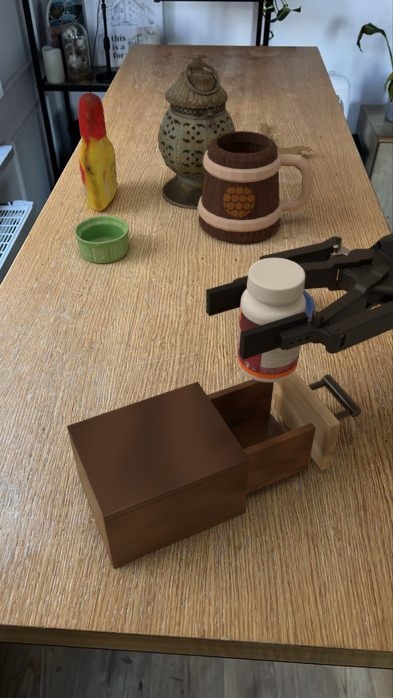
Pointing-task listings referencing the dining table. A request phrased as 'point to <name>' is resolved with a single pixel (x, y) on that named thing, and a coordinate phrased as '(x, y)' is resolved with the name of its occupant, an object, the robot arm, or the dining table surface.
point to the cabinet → (159, 471)
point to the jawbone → (292, 150)
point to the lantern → (191, 130)
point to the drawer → (267, 435)
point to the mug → (247, 187)
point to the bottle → (96, 154)
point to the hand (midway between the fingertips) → (224, 323)
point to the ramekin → (102, 238)
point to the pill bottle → (271, 314)
